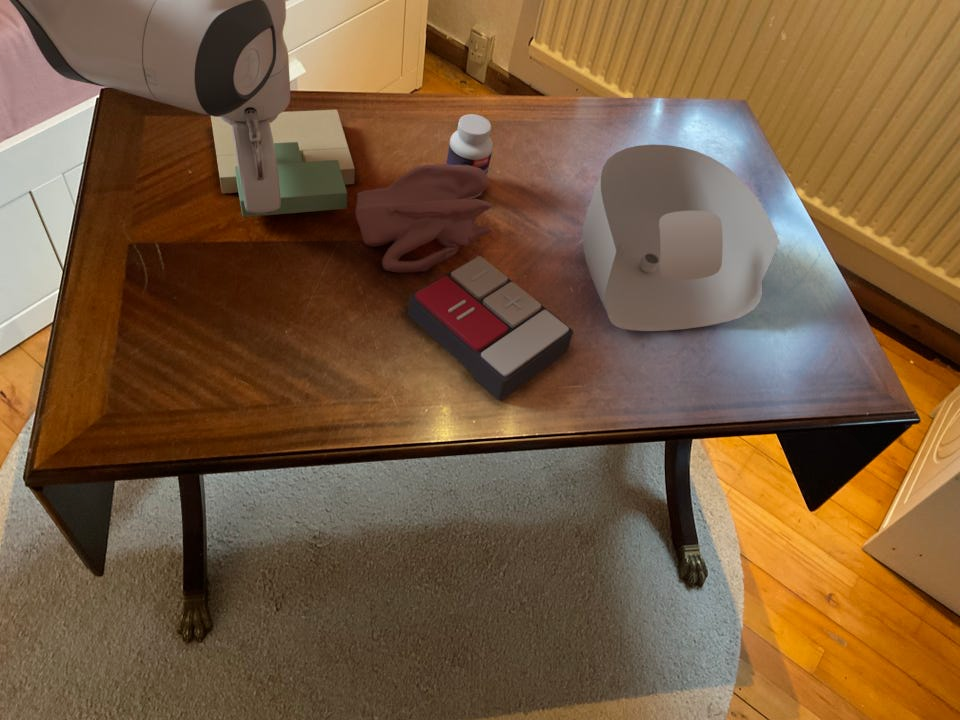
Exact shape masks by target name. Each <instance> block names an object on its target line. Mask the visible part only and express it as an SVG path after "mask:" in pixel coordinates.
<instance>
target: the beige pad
mask: <svg viewBox="0 0 960 720" xmlns="http://www.w3.org/2000/svg"><path fill="white" fill-rule="evenodd" d="M340 117H341V116H340V114H339V111H338V109H318V110H317V109H316V110H295V111H283V112H281V113H280V114H278V116H277V118H276V119H275V120H274V121H273V122H271V123H270V127H271V131H272V136H273V141H274V143H287V142H298V145H299V150H300V154H301V158H302V162H311V161H327V160H338V163H339V166H340V170H341V173H342V177H343V180H344V184H345V186H346V185H354V184H355V173H356V172H355V166H354V160H353V158H352V155H351V152H350V151H351V150H350V148H349V145H348V142H347V141H348V140H347V138H346V135H345V131H344V127H343V124H342V120H341V118H340ZM210 120H211V127H212V134H213V140H214V141H213V143H214V148H215V155H216V162H217V168H218V176H219V183H220V189H221V194H234V193H236V194H237V193H238V187H237V180H236V173H235V166H238V164H237V158H236V152H235V146H234V140H233V134H232V128H231V125H230V124H228V123H226V122H225V121H223V120H222V119H221V118H220V117H214V116H211V115H210Z"/></svg>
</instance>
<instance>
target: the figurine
mask: <svg viewBox="0 0 960 720" xmlns="http://www.w3.org/2000/svg"><path fill="white" fill-rule="evenodd" d="M489 184H490V179H489V178H488V175H487V176H486V174H485V173H484V172H483V170H481V169H480V168H476V167H473V166H468V165H448V164H446V163H438V164H422V165H418V166H416V167H414V168H412V169H409V170H408V171H407V172H405V173H403V174H402V175H401V176H400V177H399V178H398V179H395V180H394V181H392V183H391V185H390V186H388V187H383V188H375V189H369V190H368V189H367V190H363V191H360V192H357V194H356V206H355V210H354V213H355V218H356V221H357V224H358V227H359V229H360V234H361V238H362V241H363V243H364V244H365V245H366V246H368V247H379V246H384V245H387V244H390V243H392V244H391V245H390V246H389V247H388V248H387V250H386V252H385V253H384V255H383V256H382V260H381V266H382V269H384V270H385V271H386V272H392V273H397V274H405V273H406V274H407V273H418V272H421V273H424V272H428V270H430V269H431V268H433V267H435V266H437V265H439V264H441V263H442V262H444V261H446V260H447V261H448V260H449V259H451V258H453V257H454V256H455V255H456V254H457V253H458V251H459V249H460V247H461V246H463V247H464V246H465V247H467V246H468V245H474V244H475V243H476V242H477V241H478V239H480V238H482V237H484V236H487V235H489V234H492V233H493V231H494V229H493V227H492V226H490V225H487V224H482V225H475V222H476V219H477V218H478V217H479V216H480V215H482V214H483V213H485V212H487V211H488V210H490V209H492V207H493V205H492V203H490V202H489V201H485V200H482V199H478V198H472V199H468V198H469V197H474V196H477V195H478V194H480V193H481V192H482V193H483V192H484V191H485V190H486V189H487V188H488V186H489ZM482 193H481V194H482ZM481 194H480V195H481ZM434 240H438V243H439V245H440V247H441V248H442V249H440V250H437V251H435V252H433V253H431V254H428V255H427V256H424V257H423V258H420V259H416V260H400V258H401V257H402V256H404V255H406V254H408V253H410V252H412V251H413V250H416V249H418V248H420V247H422V246H424V245H426V244H428V243H432V241H434Z"/></svg>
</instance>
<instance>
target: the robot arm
mask: <svg viewBox="0 0 960 720" xmlns="http://www.w3.org/2000/svg"><path fill="white" fill-rule="evenodd" d="M9 2H10V3H11V4H12V6H13V7H14V8H15V9H16V10H17V12H18V13H19V15H20V16H21V18H22V19H23V21H24V23H25V24H26V26H27V28H28V30H29V32H30V34H31V36H32V39H33V40H34V42H35V44H36V46H37V48H38V49H39V52H40V54H42V56H43V58H44V59H45V60H46V62H47V63H48V64H49V66H50V67H51V68H52V69H53V70H54V71H55V72H56V73H58V74H59V75H60V76H62V77H64V78H65V79H68V80H71V81H76V82H80V83H85V84H89V85H93V86H99V87H105V88H106V87H107V88H111V89H114V90H117V91H120V92H125V93H128V94H131V95H133V96H138V97H140V98H144V99H147V100H151V101H154V102H157V103H161V104H165V105H169V106H172V107H176V108H179V109H183V110H185V111H186V110H187V111H189V112H193V113H198V114H201V115H204V116H205V115H206V116H210V117H211V116H214V117H220V118H221V119H222V120H223V121H225V122H226V123H228V124H230V125H231V128H232V134H233V140H234V146H235V152H236V158H237V164H238V170H239V176H240V182H241V188H242V194H243V200H244V206H245V209H246V211H247V212H248V213H255V214H263V213H268V212H276V211H278V210H279V209H280V207H281V196H280V185H279V175H278V165H277V157H276V151H275V146H274V141H273V136H272V131H271V127H270V123H271V122H273V121H274V120H275V119H276V118H277V116H278V114H280V113H281V112H285V110H286V109H287V108H288V107H289V104H290V102H291V97H292V95H291V78H290V77H291V76H290V61H289V60H290V59H289V51H288V46H287V44H286V41H285V37H284V28H285V24H286V21H287V5H286V4H287V3H286V0H9Z"/></svg>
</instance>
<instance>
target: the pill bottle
mask: <svg viewBox="0 0 960 720" xmlns="http://www.w3.org/2000/svg"><path fill="white" fill-rule="evenodd" d="M491 130H492V124H491V122H490V121H489V119H487V118H486V117H484V116H482V115H480V114H474V113H469V114H464V115H462V116H461V117H460V118H459V119H458V123H457V128H456V130H455V131H454V132H453V133H452V135H450V139H449V143H448V150H447V157H446V163H445V164H448V165H468V166H473V167H476V168H480V169H481V170H483V172H484V173H485V174H486V176H487V177H488V172H489V167H490V162H491V158H492V153H493V147H494V144H493V140H492V139H491V137H490V136H491ZM482 194H483V192H481V193H480V194H478V195H477V196H474V197H469V198H468V199H476V198H477V197H479V196H481V195H482Z"/></svg>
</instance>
